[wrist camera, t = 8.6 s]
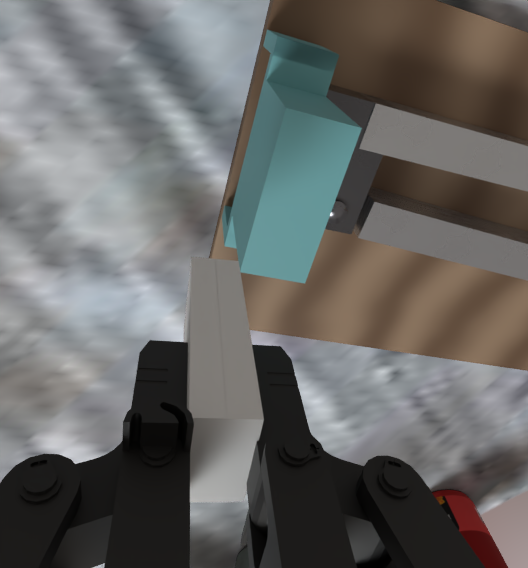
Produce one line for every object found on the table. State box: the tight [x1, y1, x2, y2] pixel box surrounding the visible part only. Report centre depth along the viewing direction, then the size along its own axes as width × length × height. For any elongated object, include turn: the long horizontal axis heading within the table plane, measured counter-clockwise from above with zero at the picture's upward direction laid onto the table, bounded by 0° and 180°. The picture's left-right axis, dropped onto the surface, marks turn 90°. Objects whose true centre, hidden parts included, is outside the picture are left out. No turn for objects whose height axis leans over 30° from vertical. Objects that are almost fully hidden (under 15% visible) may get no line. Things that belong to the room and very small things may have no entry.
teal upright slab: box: [222, 30, 362, 284], centre depth 23 cm, size 3×11×10 cm, turn 165°
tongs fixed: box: [325, 84, 528, 234], centre depth 29 cm, size 25×7×3 cm, turn 75°
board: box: [209, 0, 528, 371], centre depth 32 cm, size 30×23×1 cm
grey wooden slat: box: [353, 187, 528, 281], centre depth 32 cm, size 20×2×3 cm, turn 72°
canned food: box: [432, 490, 508, 568], centre depth 49 cm, size 8×8×11 cm
